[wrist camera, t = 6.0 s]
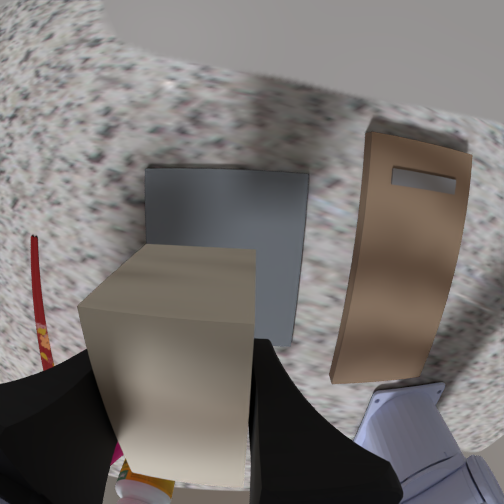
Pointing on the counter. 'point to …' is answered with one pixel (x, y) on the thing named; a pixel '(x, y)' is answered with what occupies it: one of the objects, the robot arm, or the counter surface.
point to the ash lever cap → (177, 359)
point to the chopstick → (39, 308)
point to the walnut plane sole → (401, 257)
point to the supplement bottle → (142, 488)
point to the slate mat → (237, 228)
